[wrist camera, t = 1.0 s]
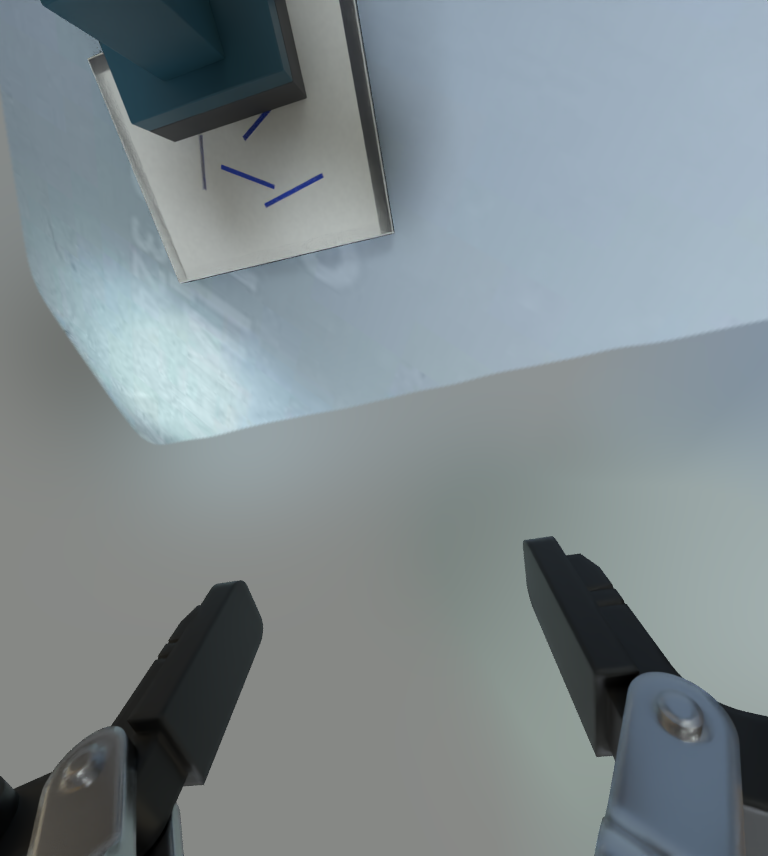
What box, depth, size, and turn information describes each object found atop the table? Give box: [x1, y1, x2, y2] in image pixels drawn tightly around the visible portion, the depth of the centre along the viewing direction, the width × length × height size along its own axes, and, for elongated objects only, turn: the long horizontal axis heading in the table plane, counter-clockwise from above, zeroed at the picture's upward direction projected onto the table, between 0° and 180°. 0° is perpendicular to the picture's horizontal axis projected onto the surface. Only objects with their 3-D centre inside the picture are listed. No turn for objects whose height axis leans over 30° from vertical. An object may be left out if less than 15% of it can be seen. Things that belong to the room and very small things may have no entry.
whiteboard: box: [88, 0, 394, 283], centre depth 25 cm, size 14×18×1 cm
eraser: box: [40, 0, 307, 142], centre depth 18 cm, size 5×10×11 cm, turn 101°
